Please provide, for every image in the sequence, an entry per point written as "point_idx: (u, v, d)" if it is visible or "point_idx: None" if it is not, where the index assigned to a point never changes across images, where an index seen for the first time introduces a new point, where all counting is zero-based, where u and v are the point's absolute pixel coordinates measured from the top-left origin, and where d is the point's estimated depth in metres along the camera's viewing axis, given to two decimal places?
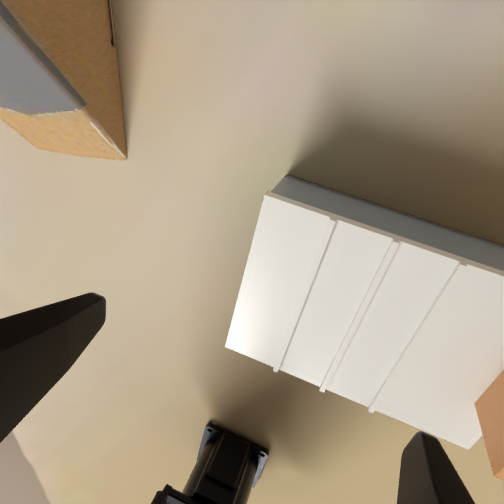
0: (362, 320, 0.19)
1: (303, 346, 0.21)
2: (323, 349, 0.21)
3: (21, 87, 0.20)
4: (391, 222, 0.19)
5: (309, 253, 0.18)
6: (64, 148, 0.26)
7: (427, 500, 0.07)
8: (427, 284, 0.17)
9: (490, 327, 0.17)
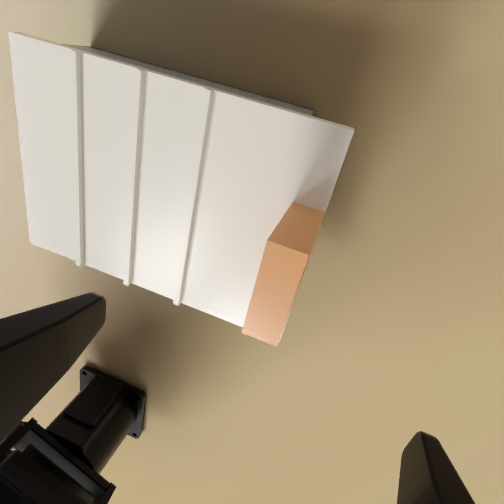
0: (140, 185, 0.17)
1: (97, 230, 0.19)
2: (116, 230, 0.18)
3: None
4: (175, 76, 0.17)
5: (69, 103, 0.16)
6: None
7: (427, 500, 0.07)
8: (186, 125, 0.15)
9: (258, 174, 0.15)
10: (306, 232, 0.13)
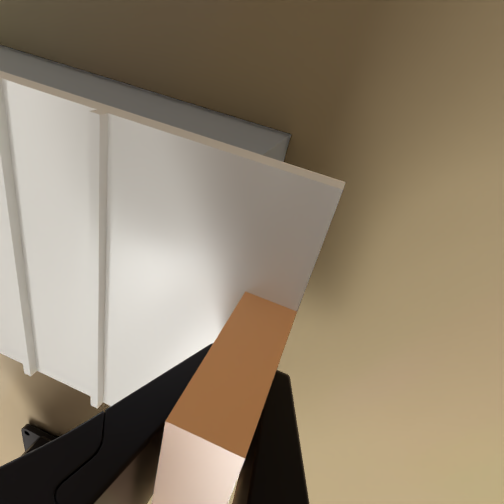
0: (26, 249, 0.11)
1: None
2: (6, 305, 0.13)
3: None
4: (80, 84, 0.11)
5: None
6: None
7: None
8: (74, 167, 0.09)
9: (189, 246, 0.09)
10: (252, 377, 0.07)
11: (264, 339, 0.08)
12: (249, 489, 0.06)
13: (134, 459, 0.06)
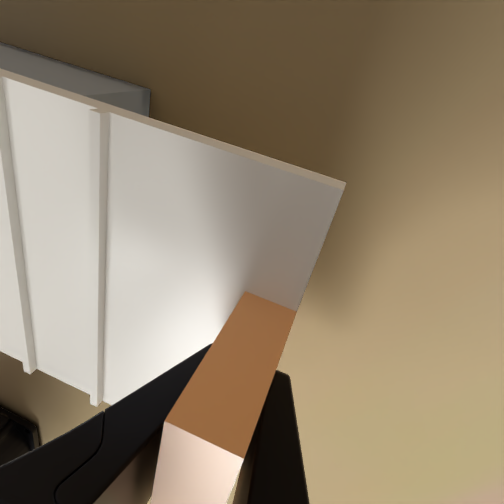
0: (26, 247, 0.11)
1: None
2: (5, 303, 0.13)
3: None
4: None
5: None
6: None
7: (257, 423, 0.08)
8: (74, 166, 0.09)
9: (189, 246, 0.09)
10: (252, 377, 0.07)
11: (264, 339, 0.08)
12: (249, 489, 0.06)
13: (134, 459, 0.06)
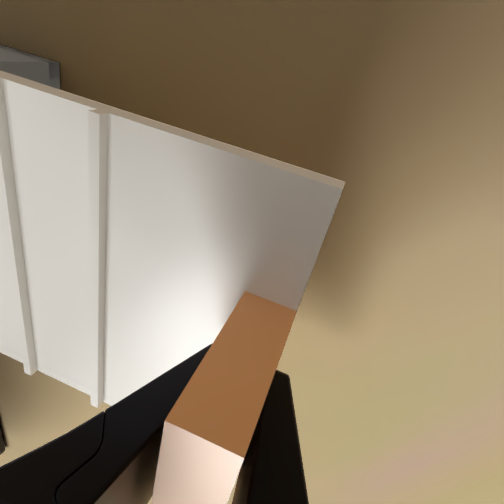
0: (26, 249, 0.11)
1: None
2: (6, 304, 0.13)
3: None
4: None
5: None
6: None
7: None
8: (74, 167, 0.09)
9: (189, 246, 0.09)
10: (252, 377, 0.07)
11: (264, 339, 0.08)
12: (249, 489, 0.06)
13: (134, 459, 0.06)
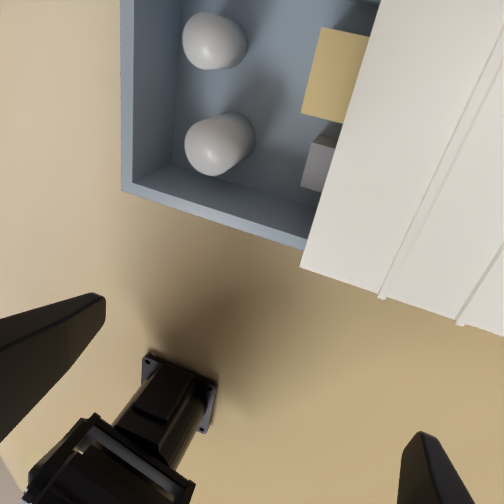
0: None
1: (433, 251, 0.13)
2: (470, 252, 0.13)
3: None
4: None
5: (471, 63, 0.10)
6: None
7: (427, 500, 0.07)
8: None
9: None
10: None
11: None
12: None
13: None
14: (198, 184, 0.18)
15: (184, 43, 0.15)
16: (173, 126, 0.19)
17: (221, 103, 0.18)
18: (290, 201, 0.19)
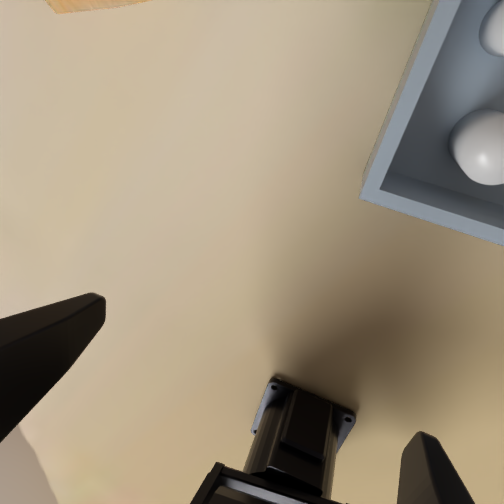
0: None
1: None
2: None
3: None
4: None
5: None
6: None
7: (427, 500, 0.07)
8: None
9: None
10: None
11: None
12: None
13: None
14: (435, 193, 0.16)
15: (498, 20, 0.12)
16: None
17: (475, 99, 0.15)
18: None
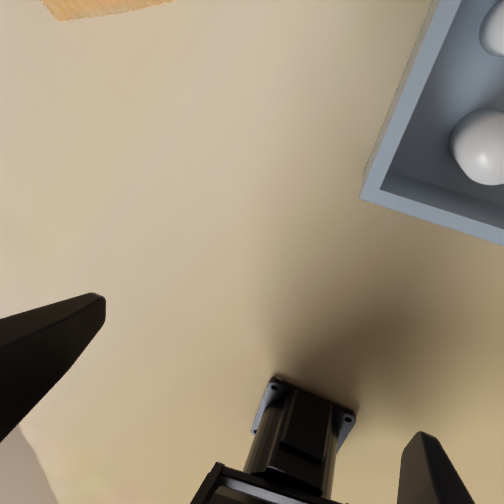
0: None
1: None
2: None
3: None
4: None
5: None
6: None
7: (427, 500, 0.07)
8: None
9: None
10: None
11: None
12: None
13: None
14: (435, 194, 0.16)
15: (498, 20, 0.12)
16: None
17: (475, 99, 0.15)
18: None
